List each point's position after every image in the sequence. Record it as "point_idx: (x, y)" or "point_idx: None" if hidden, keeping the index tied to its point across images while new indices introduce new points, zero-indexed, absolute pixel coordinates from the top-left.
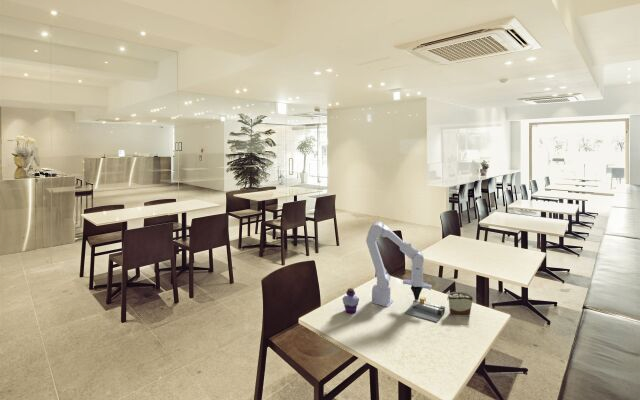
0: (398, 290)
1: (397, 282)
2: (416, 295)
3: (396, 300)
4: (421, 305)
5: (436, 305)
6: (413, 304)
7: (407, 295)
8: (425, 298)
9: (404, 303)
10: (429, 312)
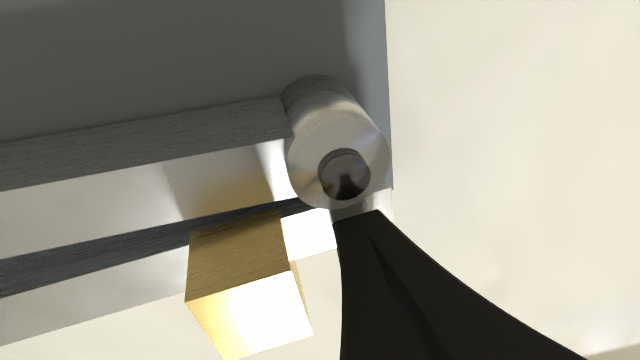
0: (590, 268)
1: (605, 331)
2: (382, 293)
3: (597, 102)
4: (180, 152)
5: (11, 326)
6: (343, 99)
7: (500, 264)
8: (215, 340)
9: (488, 110)
10: (23, 134)
